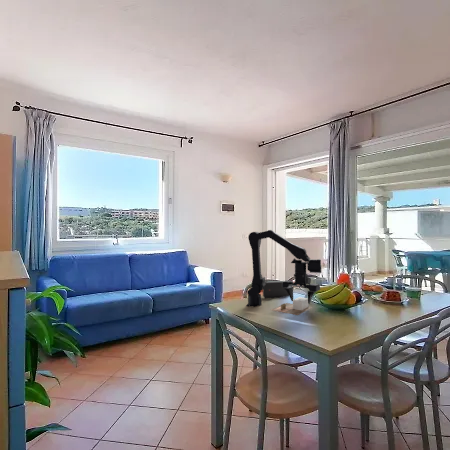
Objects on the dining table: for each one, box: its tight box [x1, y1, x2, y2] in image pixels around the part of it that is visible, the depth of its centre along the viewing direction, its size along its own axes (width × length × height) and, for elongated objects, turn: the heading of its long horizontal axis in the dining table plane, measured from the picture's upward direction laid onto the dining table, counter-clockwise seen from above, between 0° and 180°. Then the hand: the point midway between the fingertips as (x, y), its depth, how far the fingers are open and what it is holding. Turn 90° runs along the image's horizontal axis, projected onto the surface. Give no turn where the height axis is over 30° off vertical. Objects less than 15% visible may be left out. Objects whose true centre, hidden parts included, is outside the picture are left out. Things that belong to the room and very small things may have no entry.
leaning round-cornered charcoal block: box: [262, 280, 290, 299], centre depth 190 cm, size 16×5×9 cm, turn 99°
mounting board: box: [270, 302, 314, 316], centre depth 160 cm, size 15×18×3 cm
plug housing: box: [292, 296, 310, 310], centre depth 163 cm, size 5×10×4 cm, turn 142°
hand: (300, 302), depth 162 cm, fingers open, 9 cm apart
